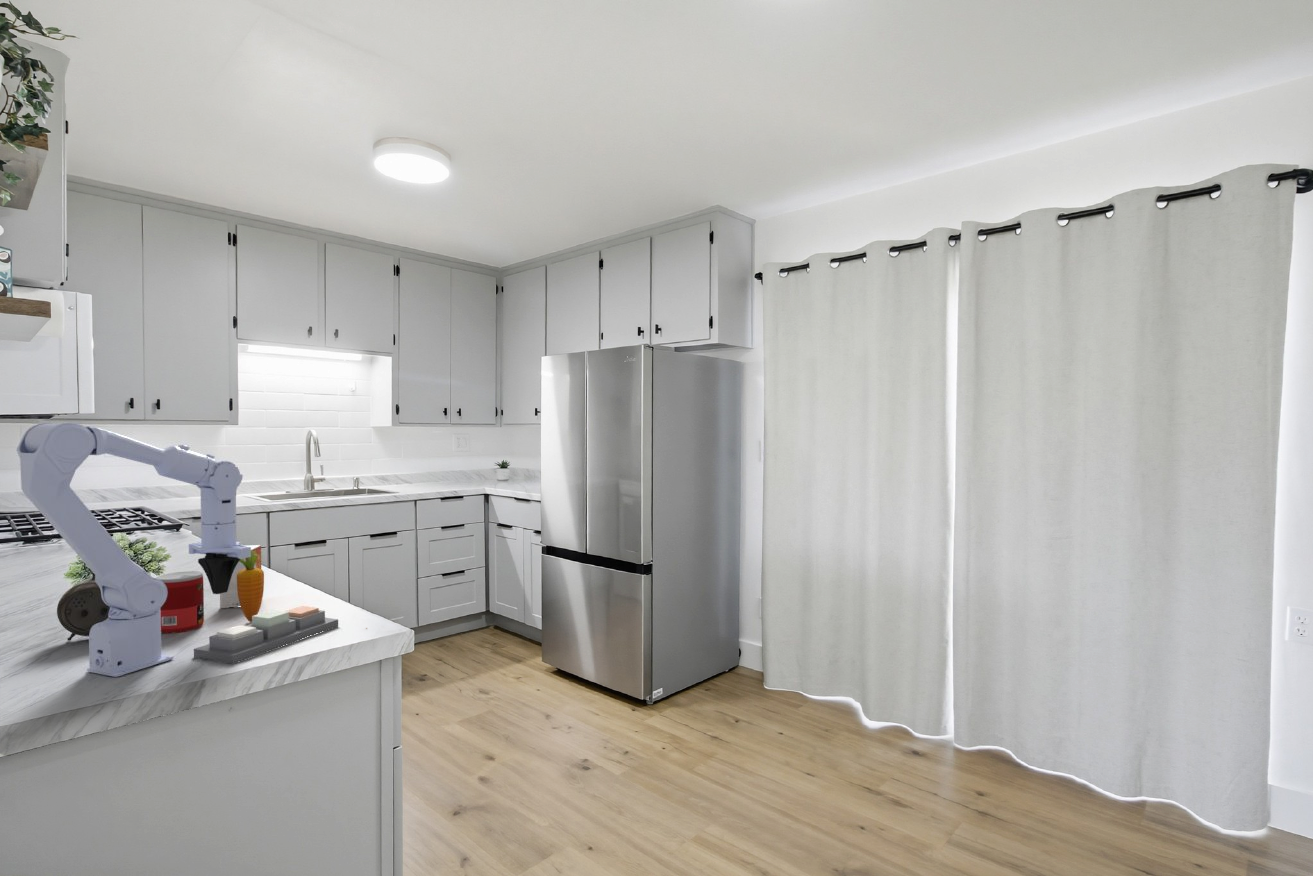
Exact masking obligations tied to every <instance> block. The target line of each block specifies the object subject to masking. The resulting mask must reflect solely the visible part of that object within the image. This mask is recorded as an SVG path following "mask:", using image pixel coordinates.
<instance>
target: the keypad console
mask: <svg viewBox="0 0 1313 876" xmlns="http://www.w3.org/2000/svg"><path fill="white" fill-rule="evenodd" d="M325 613H326V610H320V609H319V612H317V613H314V614H311V615H307V616H304V617H301V618H298V617H290V616H289V622H286V623H282V624H279V625H276V626H273V627H270V628H265V627H259V626H252V623H250V624H245V626H249V627H255V628H256V632H254V633H251V634H248V635H245V636H242V637H239V638H235V639H229V638H223V637H217V633H216V634H213V635H211V636H209V638H208V639H209V642H208V644H205V645H204V644H203V645H202V646H199V647H195V648H193V658H197V659H201V660H208V661H214V662H219V661H220V662H219V663H226V664H230V663H232V664H231V665H234V663H235V664H237V663H239V662H238V661H240V662H243V661H246V660H248V658H249V659H250V658H254V657H257V656H260V655H262V653H263V654H265V653H267V651H268V652H271V651H274V650H276V648H277V649H279V648H278V647H280V648H282V647H284V646H283V645H285V646H287V645H286V644H288V645H290V643H291V644H293V643H292V642H294V643H296V642H298V641H297V640H299V641H301V640H300V639H302V638H305V637H307V636H310V635H313V636H315V635H314V634H316V633H319V634H321V633H320V632H322V631H325V632H327V631H329V630H328V629H330V630H332V628H333V629H335V628H338V627H339V619H338V618H331V617H326V614H325ZM326 630H327V631H326ZM322 633H323V632H322ZM316 635H317V634H316ZM310 637H311V636H310ZM305 639H306V638H305ZM302 640H303V639H302ZM295 641H296V642H295ZM281 646H282V647H281ZM273 649H274V650H273ZM270 650H271V651H270ZM259 654H260V655H259ZM253 656H254V657H253ZM245 659H246V660H245Z"/></svg>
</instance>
